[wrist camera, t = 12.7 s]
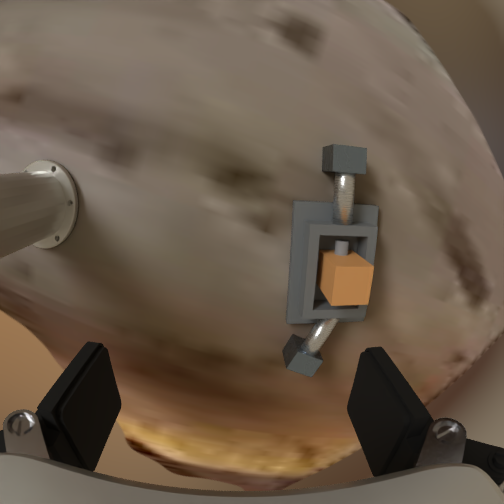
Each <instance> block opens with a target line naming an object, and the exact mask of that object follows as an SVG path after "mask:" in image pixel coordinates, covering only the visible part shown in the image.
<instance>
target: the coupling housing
mask: <svg viewBox="0 0 504 504" xmlns="http://www.w3.org/2000/svg"><path fill="white" fill-rule="evenodd" d="M333 203H334V202H318V201H296V200H293V213H292V233H291V251H290V267H289V283H288V297H287V310H286V322H287V324H300V323H316V322H317V320H318V319H329V318H340V320H339V321H338V322H354V321H364V317H365V316H366V310H367V305H342V306H331V305H330V303H329V302H328V300H327V299H326V297H325V296H324V294H323V292H322V291H321V289H320V288H319V286H318V285H317V283H316V282H317V271H318V260H319V249H320V250H335V241H336V240H337V239H342V240H347V241H349V245H348V250H353V251H354V252H355V253H357V254H358V255H359V256H361V257H362V258H363V259H365V260H366V261H367V262H369V263H370V264H371V265H373V266H374V258H375V250H376V242H377V232H378V227H377V220H378V209H379V206H376V205H367V204H354V208H353V221H352V225H350V226H345V225H337V224H333V223H332V218H333Z"/></svg>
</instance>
